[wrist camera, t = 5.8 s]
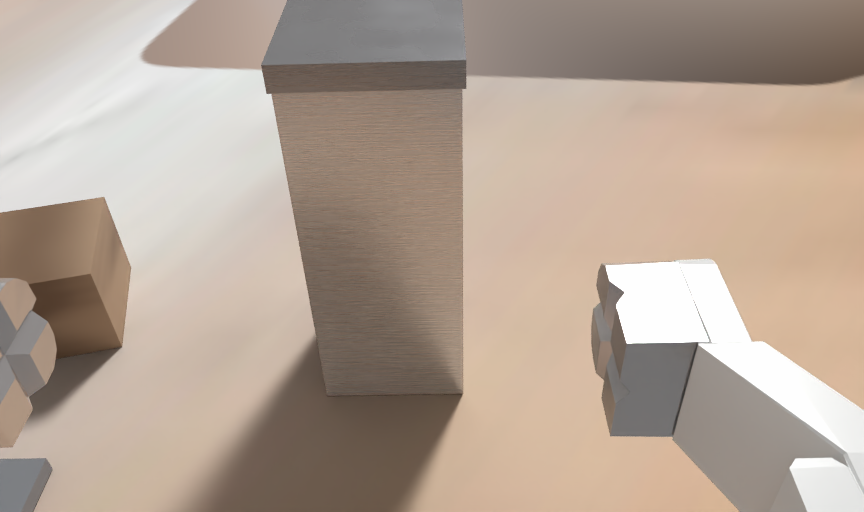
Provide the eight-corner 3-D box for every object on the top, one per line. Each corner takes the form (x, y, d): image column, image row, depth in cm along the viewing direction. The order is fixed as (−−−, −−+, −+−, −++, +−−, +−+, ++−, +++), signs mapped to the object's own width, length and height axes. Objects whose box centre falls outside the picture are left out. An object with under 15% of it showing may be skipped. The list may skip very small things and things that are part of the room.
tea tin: (324, 397, 27) (261, 64, 19) (338, 300, 31) (291, -11, 23) (465, 395, 27) (466, 59, 19) (462, 298, 31) (460, -15, 23)
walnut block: (-11, 373, 29) (-58, 298, 26) (13, 289, 33) (-25, 216, 30) (122, 349, 30) (90, 273, 27) (131, 269, 33) (103, 196, 31)
